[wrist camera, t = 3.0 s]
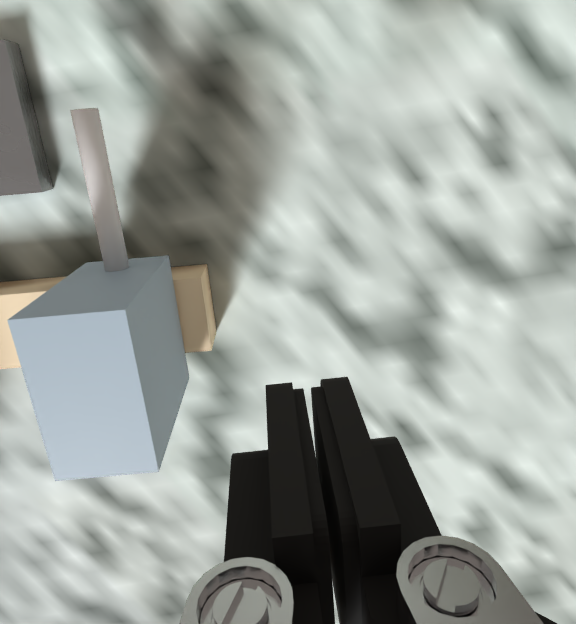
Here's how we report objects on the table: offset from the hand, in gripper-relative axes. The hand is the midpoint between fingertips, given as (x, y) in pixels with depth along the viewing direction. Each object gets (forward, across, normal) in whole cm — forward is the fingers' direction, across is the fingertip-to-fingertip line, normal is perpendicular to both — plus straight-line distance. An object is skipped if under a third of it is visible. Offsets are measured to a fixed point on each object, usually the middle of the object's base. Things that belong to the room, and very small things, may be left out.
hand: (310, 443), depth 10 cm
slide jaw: (+9, +6, -2) cm, 11 cm away
